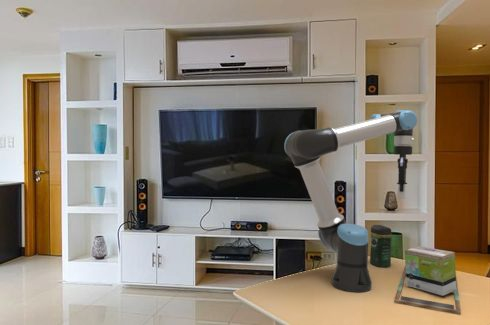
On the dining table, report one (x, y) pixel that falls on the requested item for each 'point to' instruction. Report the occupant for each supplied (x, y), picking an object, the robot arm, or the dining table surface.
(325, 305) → the dining table surface
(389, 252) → the coffee jar
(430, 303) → the tray
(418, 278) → the tea box
